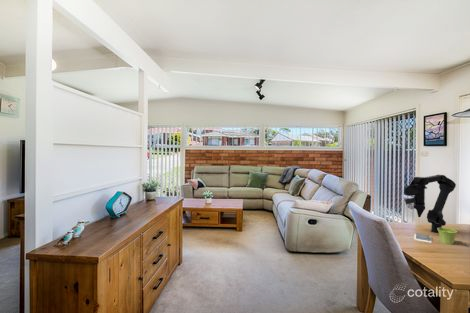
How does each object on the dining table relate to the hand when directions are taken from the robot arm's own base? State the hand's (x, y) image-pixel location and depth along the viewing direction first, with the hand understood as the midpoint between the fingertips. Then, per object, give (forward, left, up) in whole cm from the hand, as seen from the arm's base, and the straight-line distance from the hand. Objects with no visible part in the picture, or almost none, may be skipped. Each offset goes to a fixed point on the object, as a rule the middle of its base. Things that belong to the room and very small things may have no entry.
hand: (419, 217), depth 170 cm
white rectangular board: (+11, +2, -12) cm, 16 cm away
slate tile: (+7, +2, -11) cm, 13 cm away
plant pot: (+12, +14, -12) cm, 22 cm away
